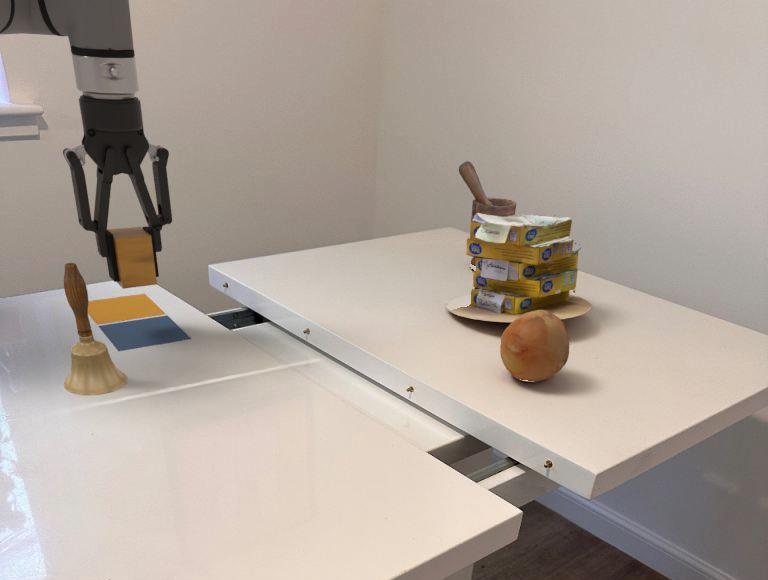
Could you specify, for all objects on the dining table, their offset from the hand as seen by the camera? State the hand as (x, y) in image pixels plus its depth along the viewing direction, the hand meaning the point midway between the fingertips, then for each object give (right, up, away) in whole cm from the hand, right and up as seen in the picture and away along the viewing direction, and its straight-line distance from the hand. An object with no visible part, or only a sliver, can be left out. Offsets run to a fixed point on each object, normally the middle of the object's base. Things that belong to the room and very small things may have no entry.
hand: (134, 276), depth 105 cm
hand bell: (-2, -18, -9) cm, 20 cm away
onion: (+58, -15, 0) cm, 60 cm away
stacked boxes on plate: (+60, 0, +21) cm, 64 cm away
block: (0, -1, 0) cm, 1 cm away
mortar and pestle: (+56, +15, +42) cm, 72 cm away
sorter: (-3, -4, +9) cm, 11 cm away
